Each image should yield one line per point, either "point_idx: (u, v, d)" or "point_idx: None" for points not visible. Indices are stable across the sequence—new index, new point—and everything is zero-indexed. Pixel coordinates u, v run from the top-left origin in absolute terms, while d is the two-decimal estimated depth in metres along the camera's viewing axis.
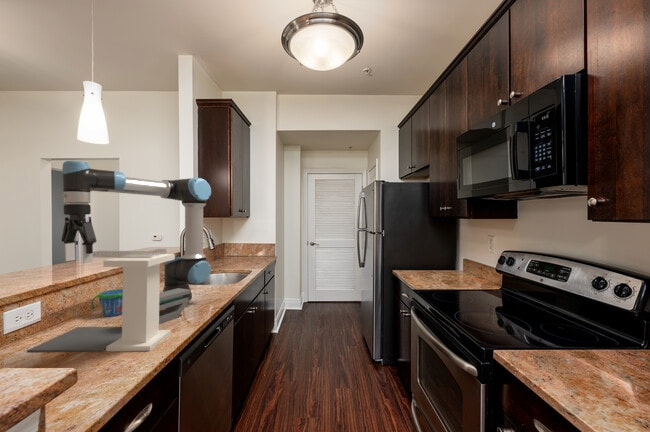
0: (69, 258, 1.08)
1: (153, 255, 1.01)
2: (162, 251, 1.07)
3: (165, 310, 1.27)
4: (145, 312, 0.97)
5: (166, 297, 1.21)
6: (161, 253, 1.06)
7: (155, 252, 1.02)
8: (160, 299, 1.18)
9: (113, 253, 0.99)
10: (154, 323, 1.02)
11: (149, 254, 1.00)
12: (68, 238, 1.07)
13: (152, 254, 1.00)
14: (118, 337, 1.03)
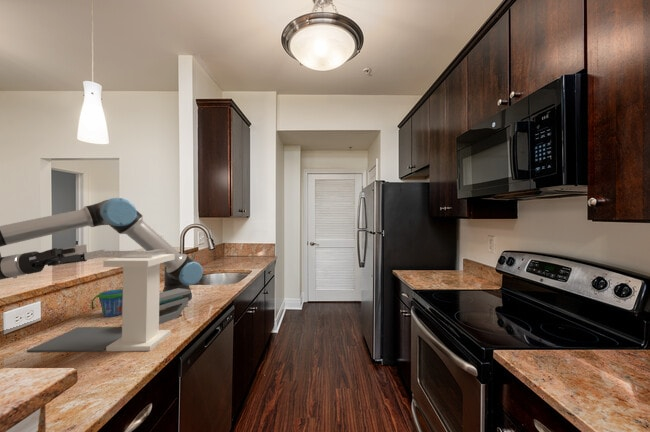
0: None
1: (153, 255, 1.01)
2: (162, 251, 1.07)
3: (165, 310, 1.27)
4: (145, 312, 0.97)
5: (166, 297, 1.21)
6: (161, 253, 1.06)
7: (155, 252, 1.02)
8: (160, 299, 1.18)
9: (113, 253, 0.99)
10: (154, 323, 1.02)
11: (149, 254, 1.00)
12: (77, 259, 1.09)
13: (152, 254, 1.00)
14: (118, 337, 1.03)
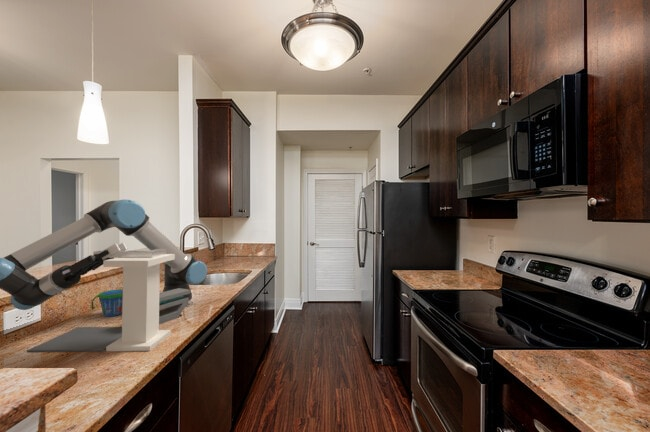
0: (122, 247, 1.02)
1: (154, 255, 1.01)
2: (163, 251, 1.07)
3: (165, 310, 1.27)
4: (145, 312, 0.97)
5: (166, 297, 1.21)
6: (162, 253, 1.06)
7: (156, 252, 1.02)
8: (160, 299, 1.18)
9: None
10: (154, 323, 1.02)
11: (150, 254, 1.00)
12: (102, 260, 1.02)
13: (153, 254, 1.00)
14: (118, 337, 1.03)
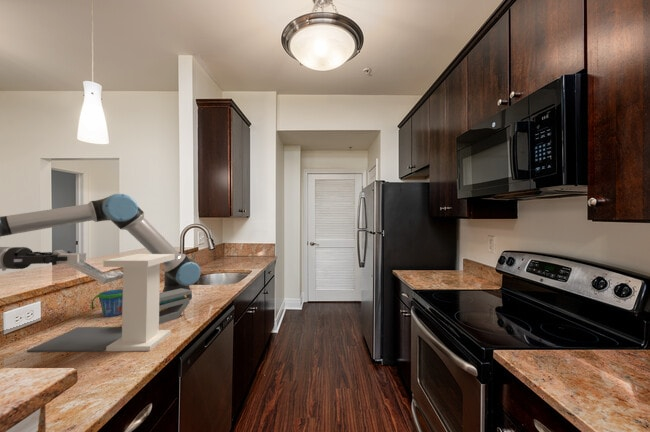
0: (83, 257, 1.02)
1: (106, 281, 1.00)
2: (119, 276, 1.06)
3: (166, 310, 1.27)
4: (145, 312, 0.97)
5: (166, 297, 1.20)
6: (116, 278, 1.06)
7: (110, 278, 1.02)
8: (159, 299, 1.18)
9: None
10: (154, 323, 1.02)
11: (103, 280, 0.99)
12: None
13: (105, 281, 1.00)
14: (118, 337, 1.03)
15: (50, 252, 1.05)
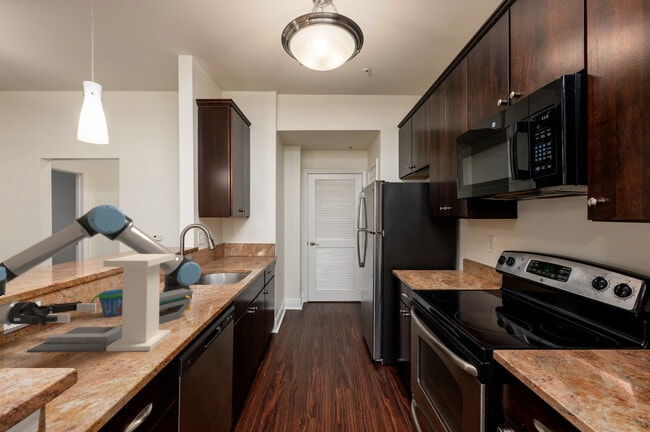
0: (92, 308, 1.06)
1: (109, 339, 1.00)
2: (120, 330, 1.06)
3: (167, 310, 1.27)
4: (145, 312, 0.97)
5: (165, 297, 1.20)
6: (119, 333, 1.05)
7: (111, 335, 1.01)
8: (159, 299, 1.18)
9: (67, 338, 0.98)
10: (154, 323, 1.02)
11: (105, 339, 0.99)
12: (69, 310, 1.05)
13: (108, 338, 0.99)
14: (118, 337, 1.03)
15: (52, 303, 1.06)
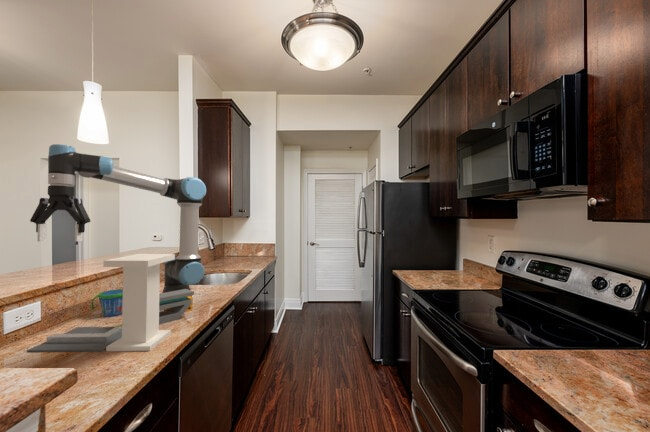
0: (42, 239, 1.09)
1: (109, 339, 1.00)
2: (120, 330, 1.06)
3: (169, 310, 1.27)
4: (145, 312, 0.97)
5: (165, 298, 1.19)
6: (119, 333, 1.05)
7: (111, 335, 1.01)
8: None
9: (67, 338, 0.98)
10: (154, 323, 1.02)
11: (105, 339, 0.99)
12: (43, 219, 1.08)
13: (108, 338, 0.99)
14: (118, 337, 1.03)
15: None
